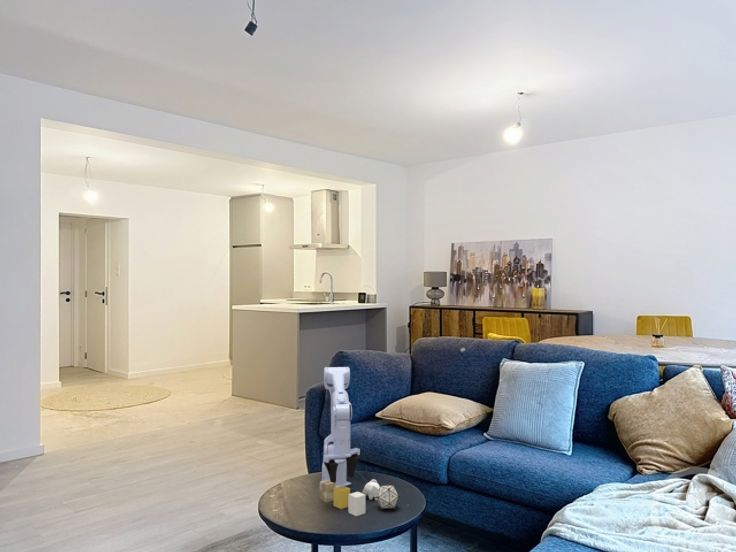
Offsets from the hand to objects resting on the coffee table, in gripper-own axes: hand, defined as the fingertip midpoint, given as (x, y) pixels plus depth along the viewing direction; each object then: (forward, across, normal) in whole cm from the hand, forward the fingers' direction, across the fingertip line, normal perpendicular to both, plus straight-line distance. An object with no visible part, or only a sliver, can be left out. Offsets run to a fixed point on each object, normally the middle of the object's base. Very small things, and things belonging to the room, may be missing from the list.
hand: (341, 479), depth 192 cm
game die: (+9, +10, -12) cm, 18 cm away
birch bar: (+9, 0, +8) cm, 12 cm away
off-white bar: (+9, 0, -8) cm, 12 cm away
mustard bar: (+9, 0, 0) cm, 9 cm away
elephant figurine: (+9, +12, -2) cm, 16 cm away
